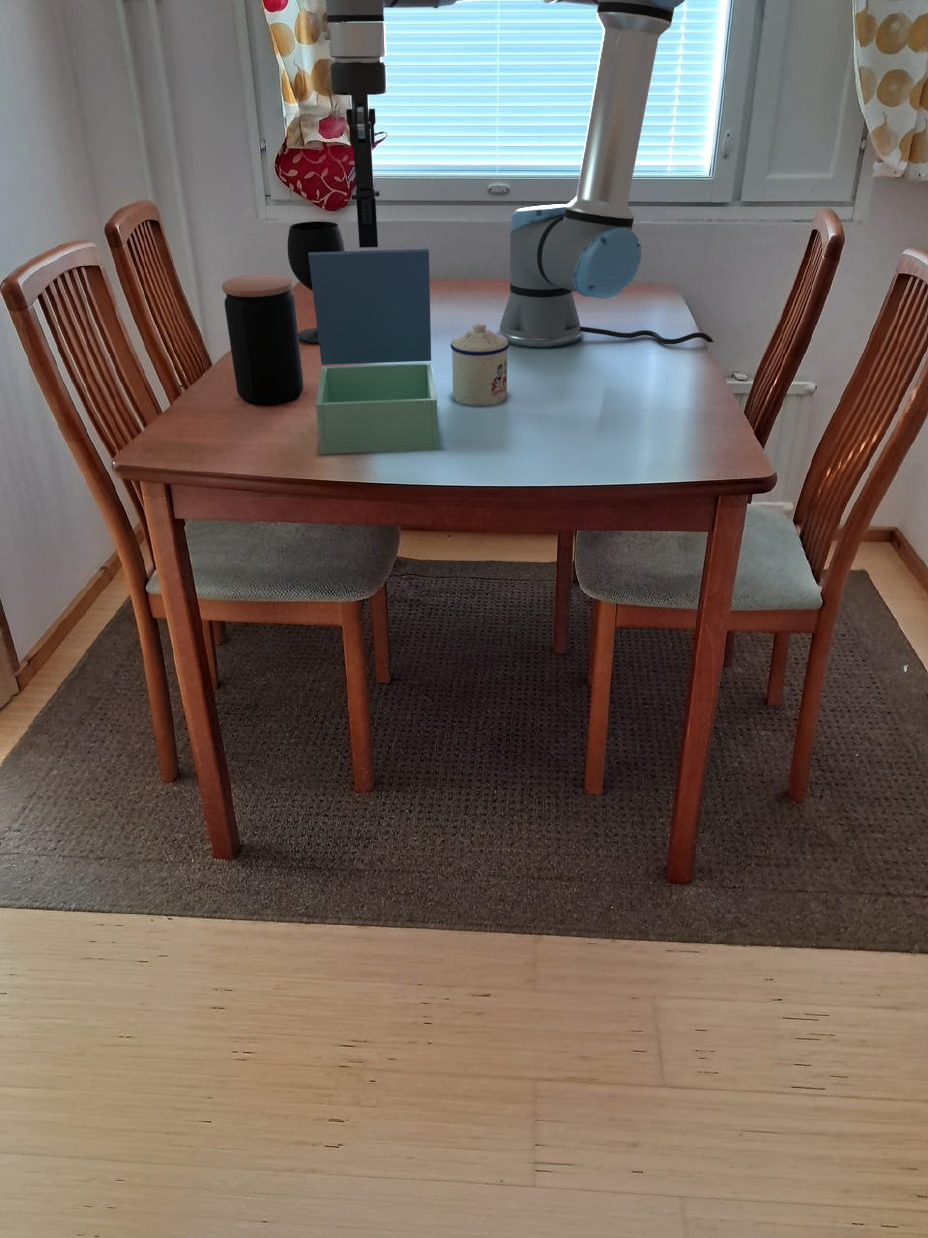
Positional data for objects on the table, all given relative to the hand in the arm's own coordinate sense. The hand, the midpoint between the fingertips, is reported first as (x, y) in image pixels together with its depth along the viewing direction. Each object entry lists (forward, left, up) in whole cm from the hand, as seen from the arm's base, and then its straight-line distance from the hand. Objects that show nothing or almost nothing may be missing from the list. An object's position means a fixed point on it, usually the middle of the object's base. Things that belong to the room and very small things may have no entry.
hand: (368, 246), depth 140 cm
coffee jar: (+17, -4, -24) cm, 30 cm away
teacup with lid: (-17, -1, -24) cm, 29 cm away
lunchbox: (0, +13, -24) cm, 27 cm away
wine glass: (+10, -37, -24) cm, 45 cm away
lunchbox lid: (0, +7, -8) cm, 10 cm away
